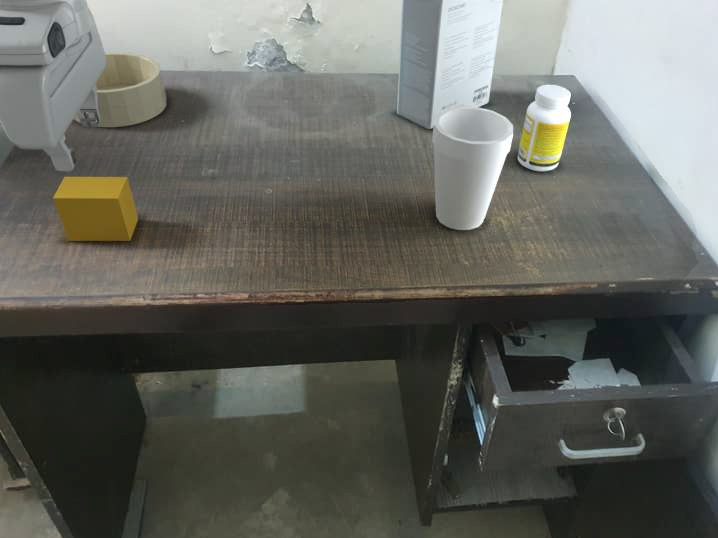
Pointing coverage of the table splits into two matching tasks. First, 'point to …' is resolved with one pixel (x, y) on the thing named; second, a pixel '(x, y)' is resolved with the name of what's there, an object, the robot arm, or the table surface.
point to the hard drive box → (446, 56)
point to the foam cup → (468, 163)
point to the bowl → (129, 90)
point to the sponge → (96, 208)
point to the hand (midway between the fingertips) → (79, 144)
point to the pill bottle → (545, 128)
